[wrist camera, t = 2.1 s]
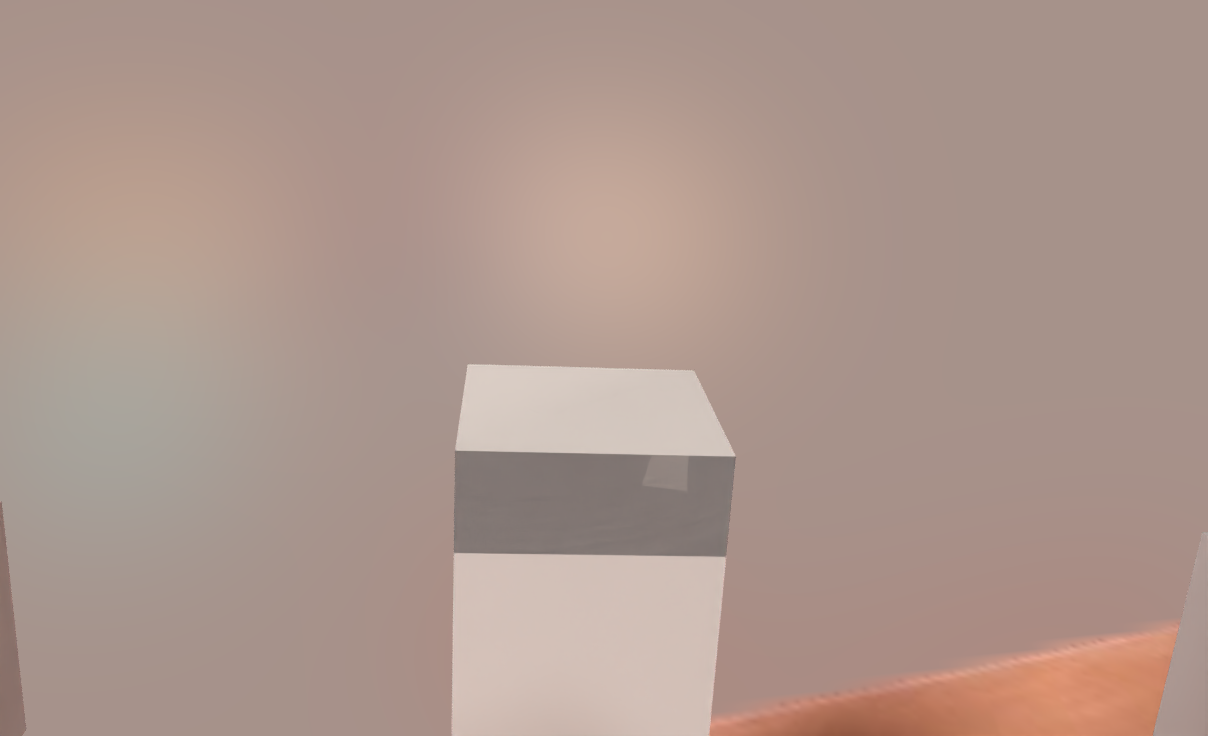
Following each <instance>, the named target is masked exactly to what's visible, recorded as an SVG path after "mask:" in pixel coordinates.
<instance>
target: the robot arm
mask: <svg viewBox="0 0 1208 736" xmlns="http://www.w3.org/2000/svg"><path fill="white" fill-rule="evenodd" d="M25 731H26V723H25V714H24V705H23V696H22V687H21V678H20V668H19V659H18V649H17V640H16V631H15V621H14V612H13V603H12V594H11V584H10V575H9V566H8V556H7V547H6V538H5V528H4V520H3V510H2V501H0V736H22V735H23V733H24V732H25ZM1153 736H1208V532H1206V533H1205V532H1203V533H1202V536H1201V540H1200V544H1199V548H1198V552H1197V556H1196V561H1195V564H1194V569H1193V573H1192V577H1191V581H1190V585H1189V589H1188V593H1187V597H1186V601H1185V606H1184V609H1183V614H1182V618H1181V622H1180V626H1179V630H1178V634H1177V638H1176V642H1175V646H1174V650H1173V655H1172V659H1171V663H1170V667H1169V671H1168V675H1167V679H1166V683H1165V687H1164V691H1163V696H1162V700H1161V704H1160V708H1159V712H1158V716H1157V720H1156V724H1155V728H1154V733H1153Z"/></svg>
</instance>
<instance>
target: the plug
mask: <svg viewBox="0 0 1208 736" xmlns="http://www.w3.org/2000/svg"><path fill="white" fill-rule="evenodd" d="M735 458H736V456H735V454H734V452H733V450H732V448H731V446H730V444H729V442H728V440H727V438H726V436H725V433H724V431H723V429H722V427H721V425H720V423H719V421H718V420H717V417H716V415H715V413H714V411H713V409H712V407H711V405H710V403H709V401H708V399H707V397H706V395H705V392H704V390H703V388H702V386H701V384H700V382H699V380H698V378H697V376H696V374H695V372H694V371H691V370H655V369H618V368H583V367H548V366H547V367H546V366H512V365H475V364H469V365H468V367H467V374H466V381H465V388H464V394H463V401H462V409H461V415H460V422H459V428H458V435H457V442H456V449H455V509H454V513H455V514H454V589H453V671H452V673H453V674H452V736H709V730H710V720H711V709H712V699H713V688H714V678H715V668H716V657H717V646H718V636H719V626H720V615H721V605H722V594H723V584H724V574H725V573H724V572H725V563H726V552H727V542H728V532H729V522H730V511H731V500H732V490H733V479H734V469H735Z"/></svg>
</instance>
